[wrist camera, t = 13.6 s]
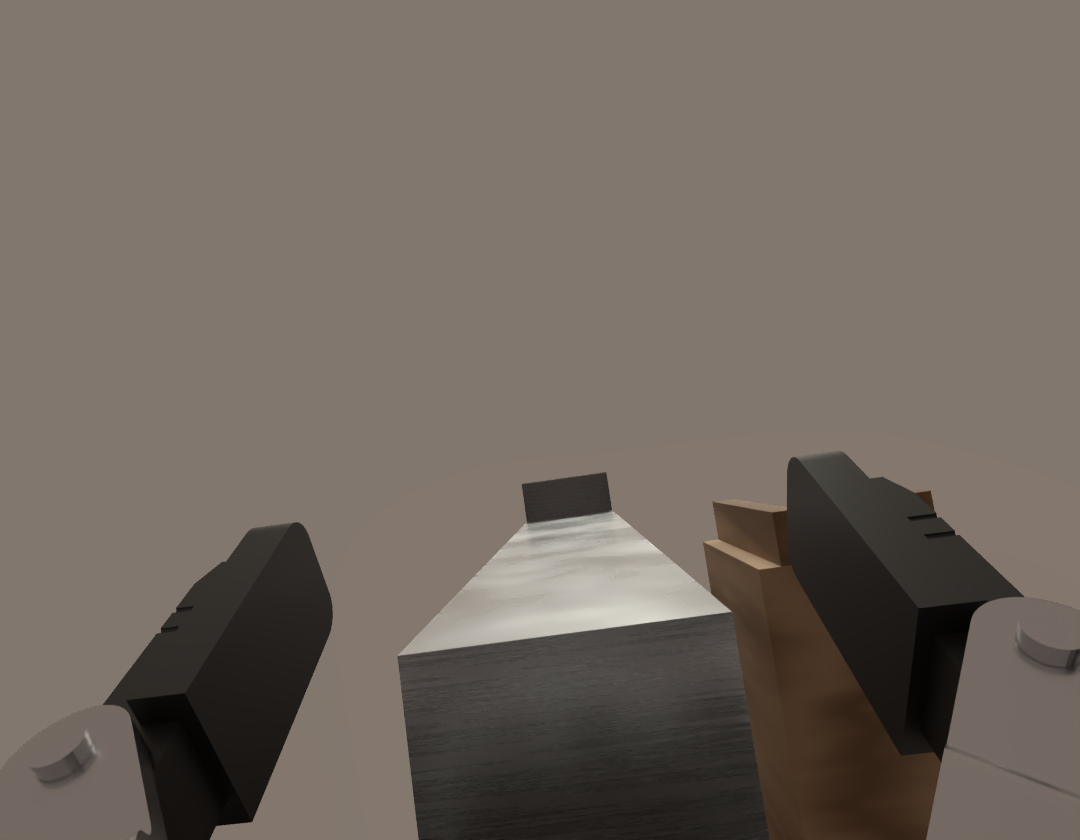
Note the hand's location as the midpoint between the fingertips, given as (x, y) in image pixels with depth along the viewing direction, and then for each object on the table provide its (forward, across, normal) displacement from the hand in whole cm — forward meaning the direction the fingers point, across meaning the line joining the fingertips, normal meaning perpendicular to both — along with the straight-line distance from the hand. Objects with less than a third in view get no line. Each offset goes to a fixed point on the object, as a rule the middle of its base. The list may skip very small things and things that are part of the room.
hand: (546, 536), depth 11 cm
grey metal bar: (+5, 0, +8) cm, 9 cm away
